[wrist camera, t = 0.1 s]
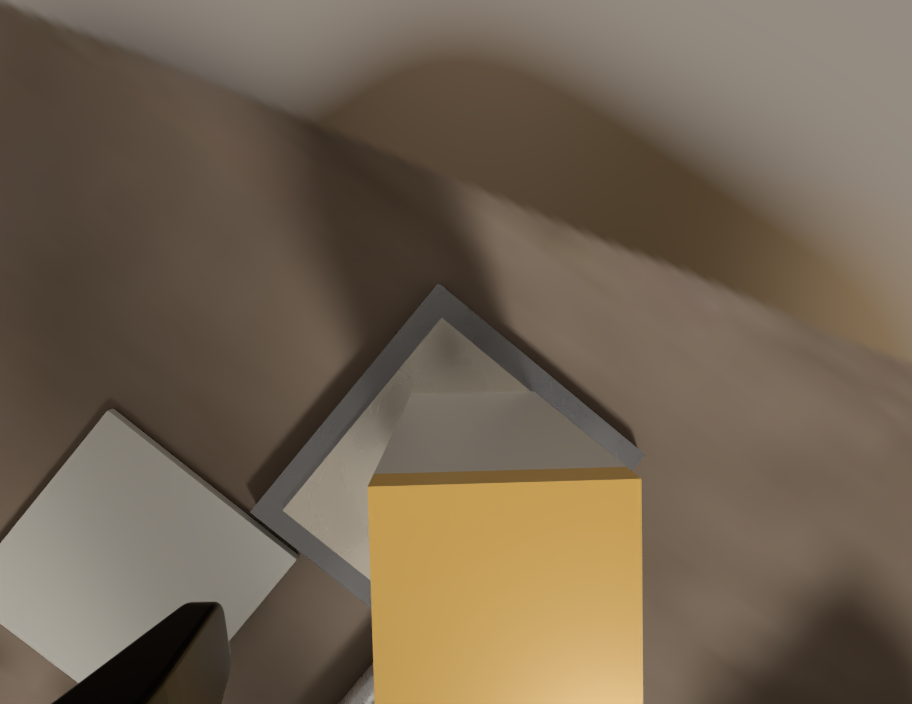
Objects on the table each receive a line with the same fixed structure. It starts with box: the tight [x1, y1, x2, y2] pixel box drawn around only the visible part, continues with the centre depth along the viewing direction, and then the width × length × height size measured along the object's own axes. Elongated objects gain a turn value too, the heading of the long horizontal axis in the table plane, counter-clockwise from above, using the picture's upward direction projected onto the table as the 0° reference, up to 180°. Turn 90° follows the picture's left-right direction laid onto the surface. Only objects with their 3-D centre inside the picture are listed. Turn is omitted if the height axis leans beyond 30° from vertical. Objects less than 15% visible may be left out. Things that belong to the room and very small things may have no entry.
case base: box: [250, 283, 645, 608], centre depth 22 cm, size 11×10×1 cm
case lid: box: [0, 409, 299, 683], centre depth 23 cm, size 9×9×1 cm
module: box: [367, 391, 643, 704], centre depth 16 cm, size 4×4×12 cm
